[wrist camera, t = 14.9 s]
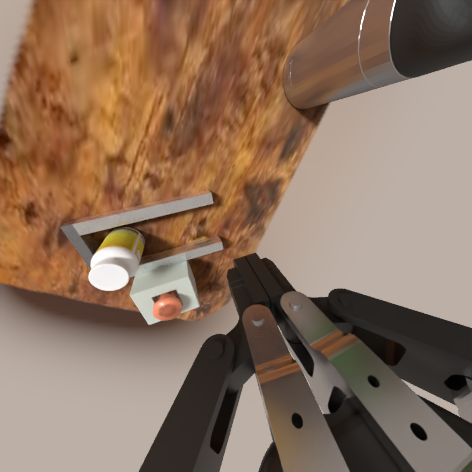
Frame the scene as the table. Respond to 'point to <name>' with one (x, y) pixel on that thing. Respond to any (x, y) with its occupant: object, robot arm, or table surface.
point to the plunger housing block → (164, 288)
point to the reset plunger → (167, 306)
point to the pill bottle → (116, 259)
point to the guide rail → (84, 226)
